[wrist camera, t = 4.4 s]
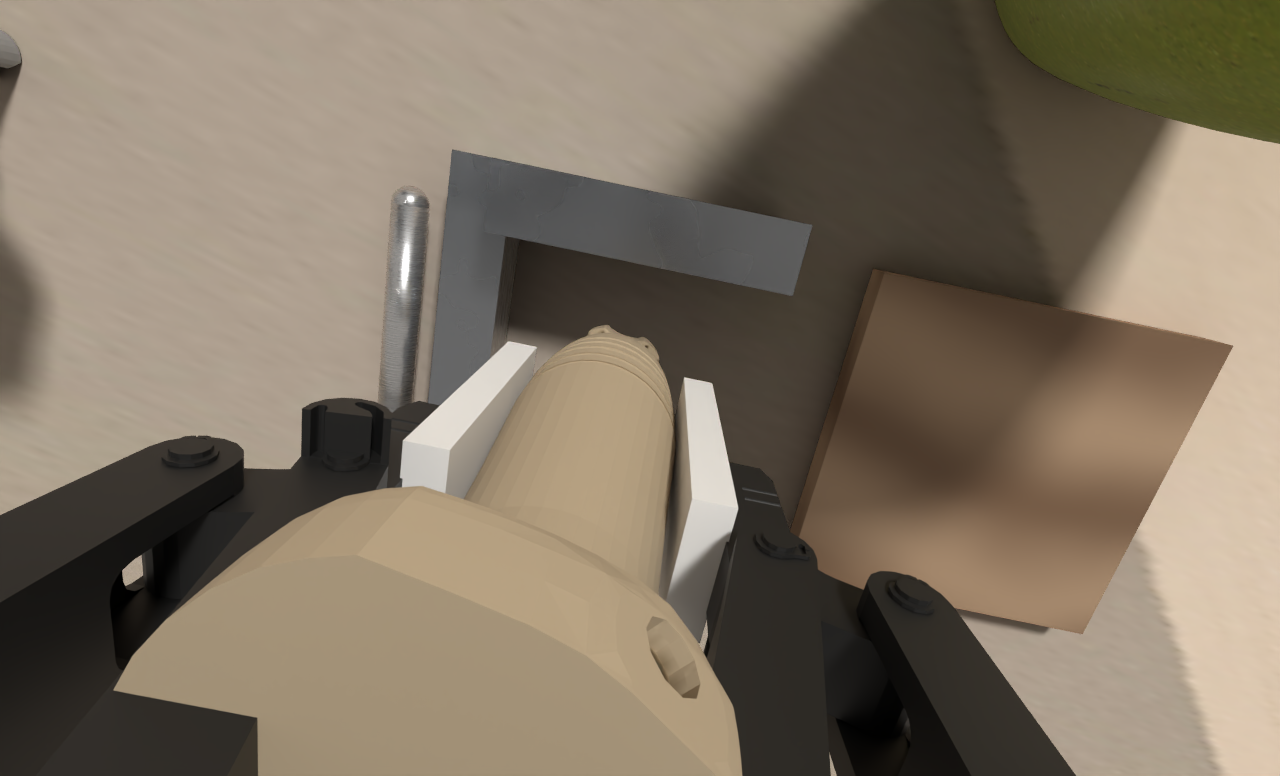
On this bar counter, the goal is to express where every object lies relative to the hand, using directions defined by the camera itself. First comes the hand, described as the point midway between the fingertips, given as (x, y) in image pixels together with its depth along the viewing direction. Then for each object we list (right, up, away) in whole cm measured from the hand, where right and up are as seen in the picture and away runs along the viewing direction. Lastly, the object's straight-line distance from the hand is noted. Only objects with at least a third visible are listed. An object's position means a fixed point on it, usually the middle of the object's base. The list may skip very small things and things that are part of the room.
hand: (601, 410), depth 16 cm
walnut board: (+14, -2, +7) cm, 16 cm away
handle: (0, +1, +4) cm, 4 cm away
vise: (-2, +2, +7) cm, 7 cm away
